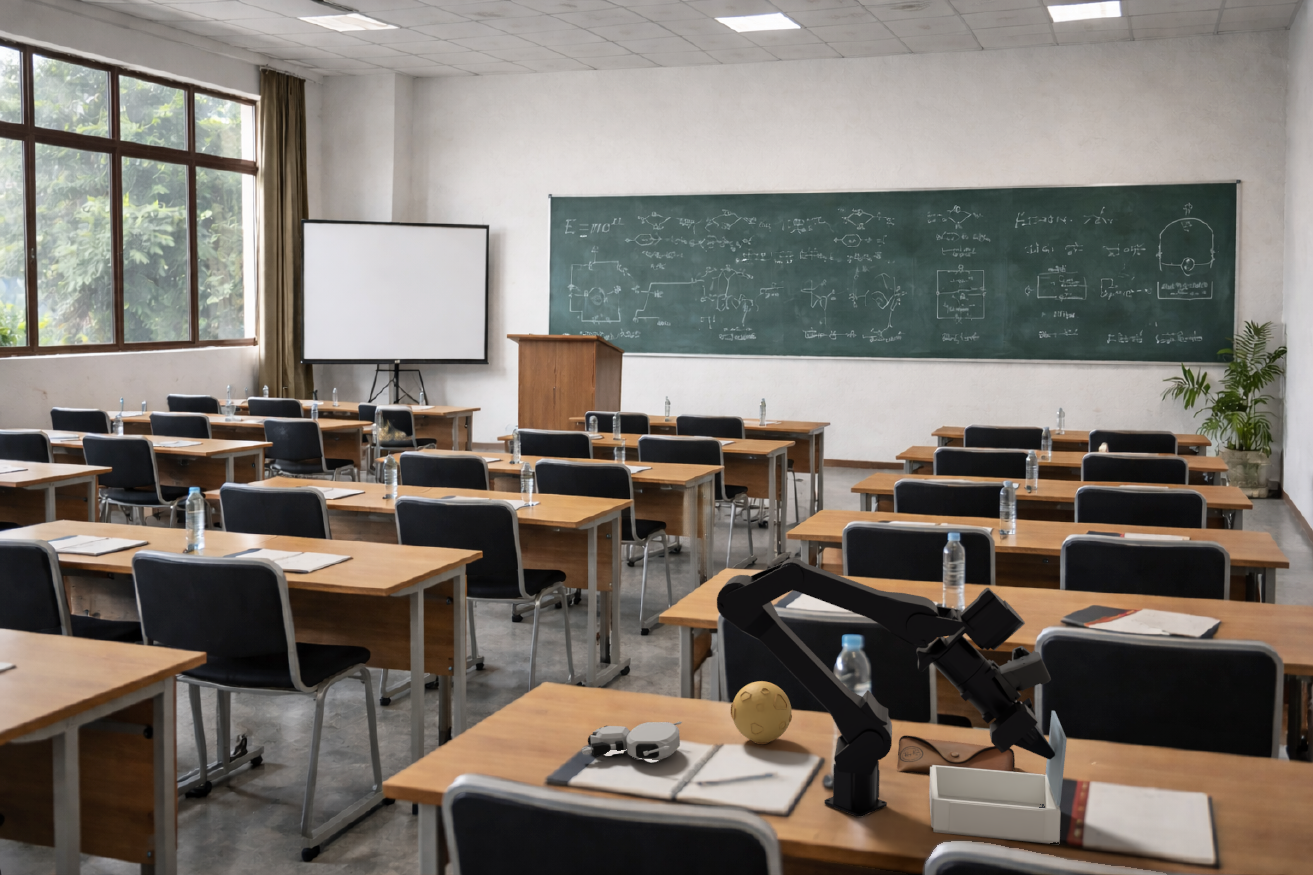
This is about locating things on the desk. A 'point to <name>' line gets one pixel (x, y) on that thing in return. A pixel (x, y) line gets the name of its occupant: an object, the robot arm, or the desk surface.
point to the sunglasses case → (949, 755)
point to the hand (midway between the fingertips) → (1052, 756)
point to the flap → (1056, 757)
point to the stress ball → (761, 712)
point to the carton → (993, 804)
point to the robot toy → (636, 740)
